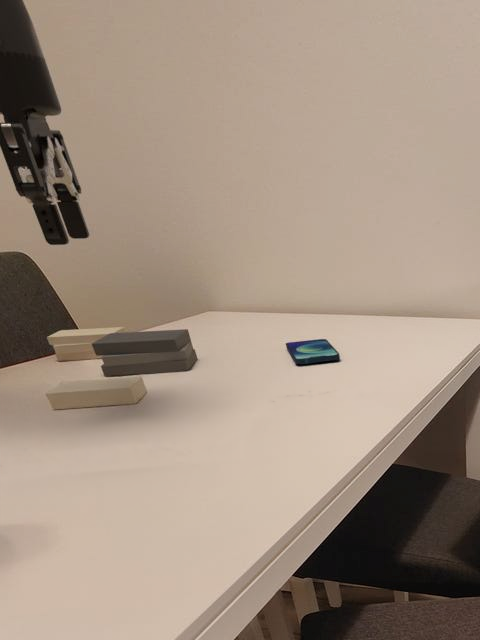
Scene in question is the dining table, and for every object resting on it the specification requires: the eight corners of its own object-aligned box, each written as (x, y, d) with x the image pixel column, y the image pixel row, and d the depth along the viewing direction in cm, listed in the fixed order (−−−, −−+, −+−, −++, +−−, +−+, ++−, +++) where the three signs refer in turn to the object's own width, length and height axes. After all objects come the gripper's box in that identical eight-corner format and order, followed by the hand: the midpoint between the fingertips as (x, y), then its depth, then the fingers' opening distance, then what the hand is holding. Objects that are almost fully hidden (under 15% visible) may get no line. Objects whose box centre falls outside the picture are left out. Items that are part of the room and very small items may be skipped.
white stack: (55, 362, 104) (44, 337, 102) (68, 353, 109) (59, 330, 107) (124, 357, 106) (115, 333, 103) (134, 349, 111) (126, 326, 109)
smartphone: (326, 338, 110) (340, 354, 99) (326, 343, 110) (341, 360, 99) (284, 342, 108) (294, 359, 97) (286, 348, 108) (296, 365, 97)
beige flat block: (53, 409, 82) (45, 393, 80) (68, 397, 86) (61, 381, 85) (136, 403, 83) (130, 387, 82) (147, 391, 88) (141, 376, 86)
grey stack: (101, 377, 95) (88, 345, 92) (118, 363, 102) (107, 333, 99) (189, 371, 97) (179, 339, 94) (200, 358, 104) (191, 328, 101)
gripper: (-11, 61, 65) (55, 237, 75) (-74, 38, 54) (13, 247, 64) (63, 63, 67) (118, 236, 77) (16, 41, 56) (87, 246, 66)
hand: (70, 241), depth 71 cm, fingers open, 8 cm apart
